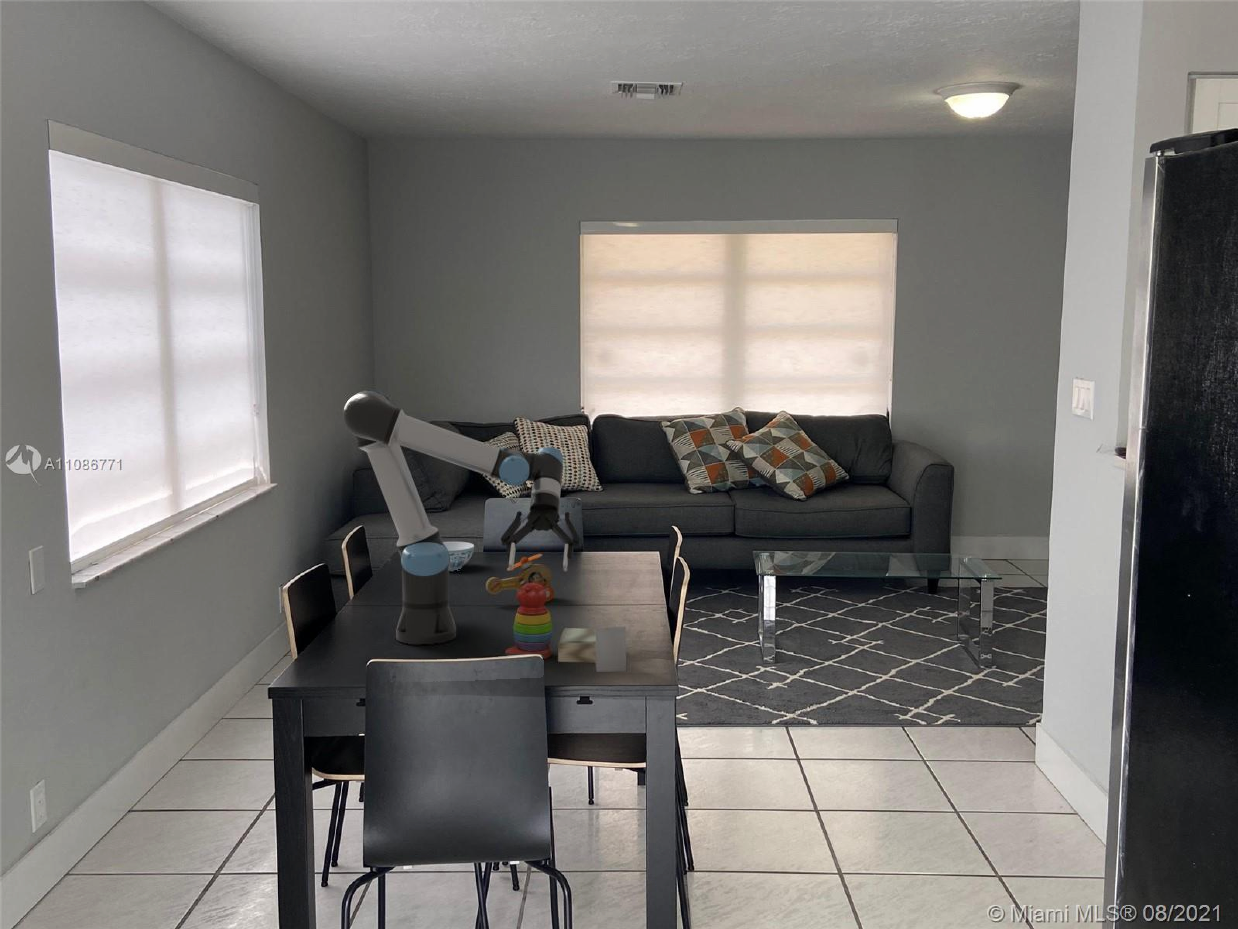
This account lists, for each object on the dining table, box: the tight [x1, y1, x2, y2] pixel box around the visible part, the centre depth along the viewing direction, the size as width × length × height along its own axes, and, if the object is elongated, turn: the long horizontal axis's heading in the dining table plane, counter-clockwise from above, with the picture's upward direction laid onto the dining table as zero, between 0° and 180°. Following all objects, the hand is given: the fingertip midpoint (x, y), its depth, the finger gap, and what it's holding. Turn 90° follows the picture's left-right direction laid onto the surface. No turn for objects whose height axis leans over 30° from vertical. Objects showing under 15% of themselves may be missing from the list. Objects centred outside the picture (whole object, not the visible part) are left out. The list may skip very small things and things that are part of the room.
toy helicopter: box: [485, 553, 555, 603], centre depth 314 cm, size 8×21×14 cm, turn 123°
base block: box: [557, 627, 596, 664], centre depth 263 cm, size 12×12×5 cm
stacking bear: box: [504, 582, 553, 660], centre depth 262 cm, size 11×10×18 cm
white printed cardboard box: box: [595, 626, 627, 673], centre depth 252 cm, size 4×7×10 cm, turn 95°
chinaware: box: [443, 541, 475, 572], centre depth 358 cm, size 15×15×8 cm
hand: (537, 568), depth 271 cm, fingers open, 13 cm apart
